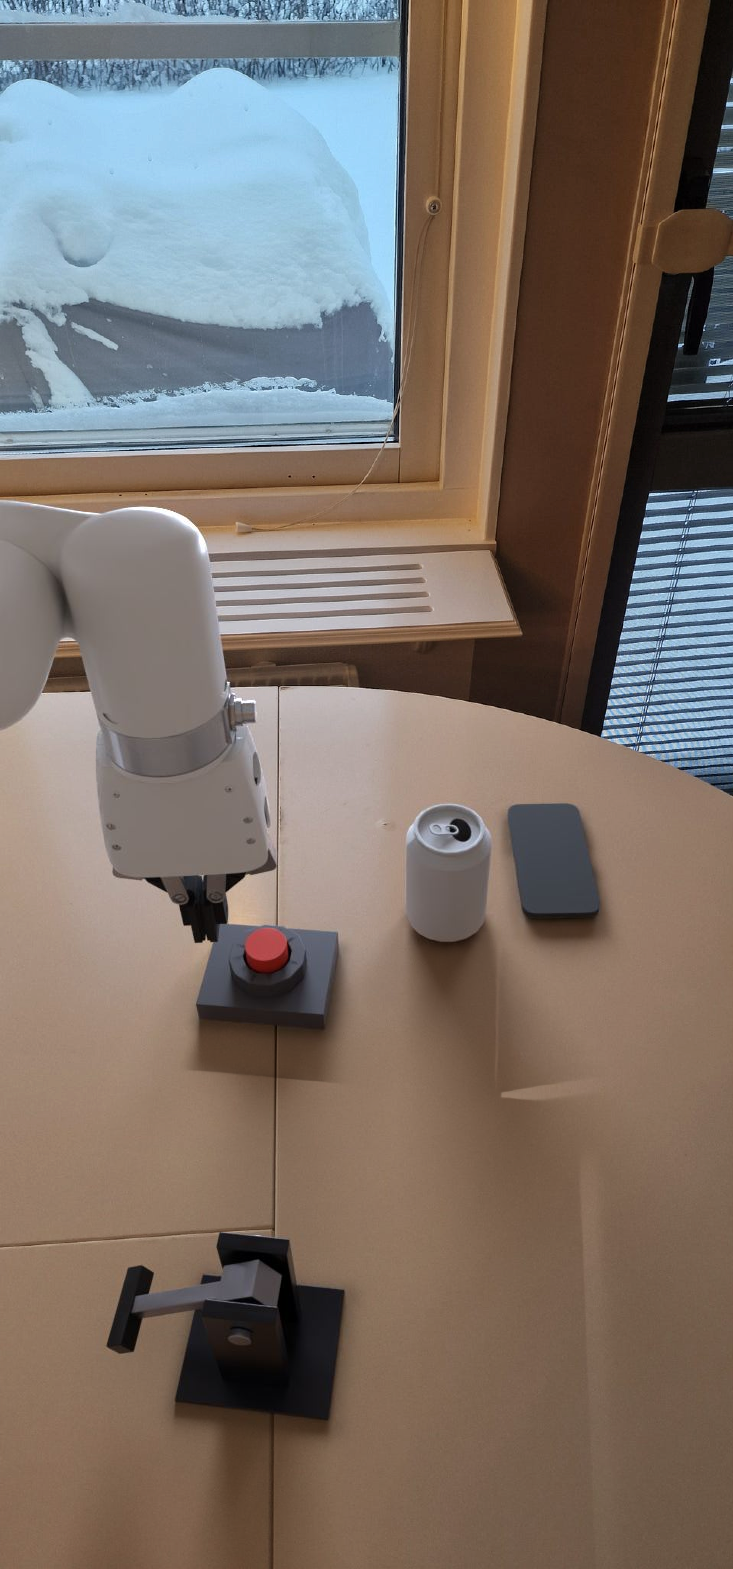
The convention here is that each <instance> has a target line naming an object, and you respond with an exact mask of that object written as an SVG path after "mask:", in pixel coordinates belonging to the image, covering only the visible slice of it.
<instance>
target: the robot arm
mask: <svg viewBox="0 0 733 1569" xmlns="http://www.w3.org/2000/svg"><path fill="white" fill-rule="evenodd" d="M214 587H215V586H214V581H213V574H212V566H211V560H210V556H209V550H208V546H207V543H206V541H205V538H204V537H203V535H202V533H201V531H200V530H199V528H198V527H197V526H196V525H195V524H194V523H192V522H191V521H190V520H189V519H188V518H187V517H185V516H183V515H181V514H179V513H177V512H174V511H171V510H168V509H164V508H159V507H152V506H151V507H150V506H135V507H124V508H118V509H113V510H109V511H106V512H103V513H96V512H90V511H89V512H87V511H79V510H74V509H67V508H62V507H61V508H60V507H55V506H48V505H43V504H36V503H31V502H25V501H17V500H5V499H0V732H2V731H3V730H6V729H8V728H10V727H12V726H13V725H15V724H17V723H18V722H20V721H22V720H23V719H24V718H25V717H26V716H27V715H28V714H29V713H30V712H31V710H32V709H33V708H34V707H35V706H36V704H37V702H38V701H39V699H40V697H41V696H42V694H43V691H44V689H45V687H46V685H47V681H48V678H49V675H50V672H51V669H52V666H53V663H54V660H55V657H56V653H57V651H58V647H59V645H60V641H62V640H63V639H67V638H70V639H73V640H74V641H75V642H76V643H77V644H78V648H79V652H80V656H81V660H82V663H83V668H84V671H85V675H86V680H87V683H88V687H89V691H90V695H91V698H92V703H93V706H94V710H95V713H96V718H97V721H98V726H99V731H98V734H97V736H96V747H95V780H96V782H95V783H96V792H97V793H96V794H97V802H98V810H99V817H100V823H101V831H102V836H103V841H104V842H103V843H104V846H105V850H106V854H107V857H108V860H109V862H110V865H111V866H112V875H113V876H114V877H115V878H118V879H125V880H133V881H141V882H142V881H143V880H145V881H146V882H147V883H148V884H149V885H152V886H153V887H156V888H157V889H159V890H161V891H163V892H165V893H167V895H168V897H169V899H170V901H171V902H172V903H173V904H175V905H178V907H179V908H178V909H179V912H180V916H181V922H182V925H183V927H190V928H191V933H192V938H193V943H195V944H203V942H205V941H206V940H207V941H209V943H213V942H218V938H219V926H220V924H229V904H228V896H227V893H228V892H229V891H230V890H231V889H233V887H235V886H236V885H238V884H239V883H240V882H241V881H243V880H244V878H246V876H249V875H250V876H254V875H258V874H259V875H260V874H264V873H268V872H272V871H274V870H276V869H277V865H278V850H277V849H276V847H275V845H274V843H273V840H272V838H271V836H270V834H269V831H268V829H269V828H270V827H271V812H270V802H269V797H268V792H267V787H266V782H265V776H264V773H263V768H262V765H261V761H260V757H259V753H258V750H257V747H256V744H255V741H254V738H253V735H252V733H251V731H250V729H249V726H248V724H249V725H250V724H257V723H258V713H257V712H258V711H257V710H258V709H257V703H256V700H253V699H252V700H243V699H244V698H237V696H236V694H235V693H232V691H231V682H230V681H228V677H227V670H226V663H225V657H224V650H223V643H222V636H221V630H220V624H219V616H218V608H217V601H216V594H215V588H214Z"/></svg>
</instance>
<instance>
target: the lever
mask: <svg viewBox="0 0 733 1569" xmlns="http://www.w3.org/2000/svg"><path fill="white" fill-rule="evenodd" d="M154 1275H155V1272H154V1271H153V1270H151V1269H149V1268H147V1267H146V1266H144V1265H142V1264H140V1265H134V1266H130V1267H128V1268H127V1269H126V1274H125V1277H124V1280H123V1284H122V1288H121V1292H120V1295H119V1298H118V1302H117V1306H116V1309H115V1313H114V1317H113V1319H112V1324H111V1327H110V1331H109V1334H108V1337H107V1342H106V1346H105V1347H106V1348H108V1349H109V1350H112V1351H113V1352H114V1353H117V1354H119V1355H122V1354H129V1353H134V1352H135V1349H136V1346H137V1341H138V1338H139V1334H140V1330H141V1326H142V1323H143V1319H148V1318H154V1317H160V1316H166V1315H173V1314H179V1313H184V1312H190V1311H195V1310H198V1309H203V1305H204V1301H205V1299H210V1300H219V1301H228V1302H237V1303H246V1304H255V1305H264V1306H273V1307H277V1302H278V1296H279V1290H280V1284H281V1278H282V1275H281V1274H279V1273H278V1272H276V1271H275V1270H273V1269H272V1268H270V1267H269V1266H267V1265H266V1264H265V1263H263V1262H262V1261H260V1260H253V1261H247V1262H242V1263H237V1264H231V1265H226V1266H224V1267H223V1269H222V1272H221V1276H222V1277H221V1281H220V1282H214V1283H208V1284H202V1285H201V1284H198V1285H191V1286H186V1287H181V1288H174V1289H168V1290H163V1291H157V1292H152V1293H150V1291H151V1287H152V1284H153V1279H154Z"/></svg>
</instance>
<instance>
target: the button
mask: <svg viewBox="0 0 733 1569" xmlns="http://www.w3.org/2000/svg"><path fill="white" fill-rule="evenodd" d="M245 951H246V957H247V962H248V965H249V966H250V967H251V968H252V969H253V970H254V971H256V972H259V973H272V972H275V971H278V970H279V969H281V968H282V967H283V966H284V965H285V964H286V962H287V960H288V948H287V940H286V937H285V936H284V935H283V933H281V932H280V931H278V930H276V929H273V928H262V929H259V930H256V931H254V932H253V933H252V934H250V935H249V936H248V938H247V940H246V942H245Z"/></svg>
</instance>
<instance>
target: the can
mask: <svg viewBox="0 0 733 1569" xmlns="http://www.w3.org/2000/svg"><path fill="white" fill-rule="evenodd" d="M492 845H493V843H492V835H491V833H490V831H489V829H488V828H487V826H486V825H485V822H484V821H483V819H482V818H481V816H480V815H479V814H478V813H477V812H476V811H474V810H473V809H471V808H469V807H466V806H465V805H461V804H456V803H440V804H436V805H431V806H430V807H428V808H426V809H424V810H422V811H421V812H420V813H419V814H418V815H417V816H415V820H414V822H413V823H412V824H411V825H410V826H409V828H408V830H407V833H406V836H405V917H406V919H407V921H408V923H409V925H410V926H411V928H412V929H413V930H414V931H416V932H417V934H418V935H421V936H423V937H425V938H426V939H428V940H432V941H436V942H441V943H444V942H445V943H451V942H452V943H453V942H454V943H455V942H459V941H462V940H466V939H468V938H469V937H471V936H472V935H474V934H476V933H477V932H478V931H479V930H480V928H481V927H482V926H483V925H484V922H485V918H486V915H487V905H488V892H489V882H490V868H491V859H492V858H491V857H492Z"/></svg>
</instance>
